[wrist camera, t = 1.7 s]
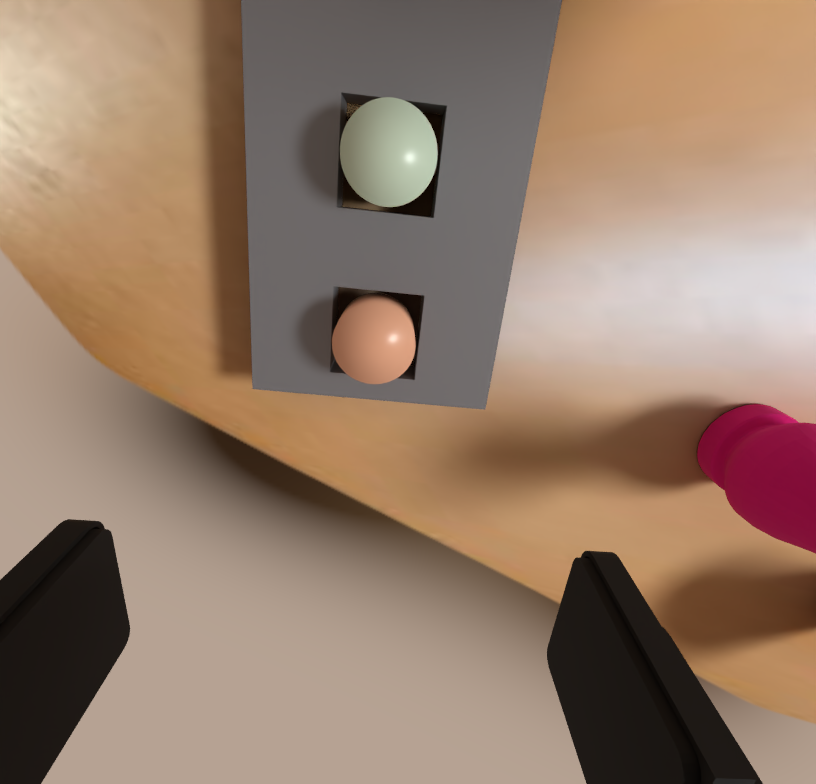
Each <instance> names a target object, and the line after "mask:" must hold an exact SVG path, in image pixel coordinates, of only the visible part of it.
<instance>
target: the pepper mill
mask: <svg viewBox="0 0 816 784" xmlns="http://www.w3.org/2000/svg"><path fill="white" fill-rule="evenodd" d="M697 457H698V463H699V465H700V468H701V469H702V471H703V472H704V473H705V474H706V475H707V476H708V477H709V478H710V479H711V480H713V481H714V482H715V483H716V484H717V485H718V486H719V487H721V488H722V489H724V490H725V493H726V496H727V499H728V501H729V503H730V505H731V506H732V508H733V509H734V510H735V512H736V513H738V514H739V515H740V516H741V517H742V518H744V519H745V520H746V521H747V522H749V523H750V524H751V525H752V526H754V527H756V528H757V529H759V530H761V531H763V532H765V533H767V534H768V535H770V536H772V537H774V538H776V539H779V540H781V541H784V542H787V543H790V544H792V545H795V546H798V547H801V548H803V549H806V550H809V551H811V552H813V553H816V424H811V423H798V421H796V420H795V419H793V418H791V417H790V416H788V415H786V414H784V413H783V412H781V411H779V410H777V409H775V408H773V407H771V406H767V405H760V404H753V405H745V406H741V407H738V408H735V409H733V410H731V411H728V412H726V413H724V414H723V415H721V416H720V417H719V418H718V419H716V420H715V421H714V422H712V423H711V425H710V426H709V427H708V428H707V430H706V431H705V432H704V433H703V436H702V438H701V440H700V442H699V445H698V452H697Z"/></svg>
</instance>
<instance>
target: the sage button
mask: <svg viewBox="0 0 816 784" xmlns="http://www.w3.org/2000/svg"><path fill="white" fill-rule="evenodd" d="M437 155H438V151H437V142H436V137H435V134H434V131H433V129H432V126H431V124H430V123H429V121H428V119H427V118H426V117H425V116H424V114H423V113H422V112H421V111H420V110H419V109H418V108H416V107H415V106H414V105H412V104H411V103H409V102H407V101H405V100H402V99H398V98H393V97H383V98H378V99H374V100H371V101H369V102H367V103H365V104H364V105H362V106H361V107H360V108H358V109H357V110H356V111H355V112H354V113H353V115H352V116H351V117H350V119H349V120H348V122H347V124H346V126H345V128H344V131H343V134H342V138H341V143H340V159H341V165H342V169H343V172H344V174H345V177H346V179H347V181H348V183H349V184H350V185H351V187H352V188H353V189H354V191H355V192H356V193H357V194H358V195H360V196H361V197H362V198H363V199H365V200H366V201H368V202H370V203H372V204H375V205H378V206H383V207H397V206H401V205H404V204H407V203H409V202H411V201H413V200H414V199H416V198H417V197H418V196H419V195H420V194H421V193H422V192H423V191H424V190H425V189H426V188H427V186H428V185H429V183H430V181H431V180H432V177H433V175H434V172H435V169H436V164H437Z"/></svg>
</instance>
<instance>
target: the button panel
mask: <svg viewBox="0 0 816 784" xmlns="http://www.w3.org/2000/svg"><path fill="white" fill-rule="evenodd" d="M561 3H562V0H241V15H242V49H243V83H244V116H245V150H246V183H247V217H248V251H249V284H250V318H251V352H252V385H253V389H259V390H270V391H282V392H293V393H304V394H315V395H327V396H338V397H349V398H361V399H372V400H383V401H394V402H406V403H417V404H428V405H440V406H451V407H462V408H473V409H485V408H486V403H487V398H488V392H489V387H490V382H491V376H492V371H493V366H494V360H495V355H496V350H497V344H498V339H499V334H500V328H501V323H502V318H503V312H504V307H505V302H506V296H507V291H508V286H509V281H510V275H511V270H512V265H513V259H514V254H515V249H516V243H517V238H518V233H519V227H520V222H521V217H522V211H523V206H524V201H525V195H526V190H527V185H528V179H529V174H530V169H531V163H532V158H533V153H534V147H535V142H536V137H537V131H538V126H539V121H540V115H541V110H542V105H543V99H544V94H545V89H546V83H547V78H548V73H549V67H550V62H551V57H552V51H553V46H554V41H555V35H556V30H557V25H558V19H559V14H560V9H561ZM383 97H393V98H398V99H402V100H405V101H407V102H409V103H411V104H412V105H414V106H415V107H416V108H418V109H419V110H420V111H421V112H424V113H432V114H440V115H442V124H441V132H440V141H439V150H438V158H437V167H436V175H435V184H434V193H433V201H432V210H431V217H430V216H421V215H412V214H403V213H394V212H386V211H377V210H368V209H359V208H350V207H342V201H343V179H344V172H343V169H342V165H341V159H340V143H341V138H342V134H343V131H344V128H345V126H346V112H347V103H351V104H359V105H364V104H365V103H367V102H369V101H371V100H374V99H378V98H383ZM339 287H345V288H355V289H365V290H375V291H385V292H394V293H404V294H414V295H422V297H421V305H420V314H419V323H418V331H417V340H416V348H415V357H414V366H409V367H408V369H407V370H406V371H405V372H404V373H403V374H402V375H401V376H399V377H398V378H396V379H394V380H392V381H390V382H387V383H383V384H367V383H363V382H360V381H357V380H355V379H353V378H351V377H350V376H349V375H347V374H346V373H345V372H344V371H343V370H342V369H341V368H340V366H339V365H338V363H337V361H336V359H335V357H334V354H333V349H332V336H333V332H334V329H335V327H336V325H337V312H338V290H339Z"/></svg>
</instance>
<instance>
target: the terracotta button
mask: <svg viewBox="0 0 816 784" xmlns="http://www.w3.org/2000/svg"><path fill="white" fill-rule="evenodd" d="M415 346H416V343H415V333H414V324H413V320H412V317H411V315H410V313H409V311H408V310H407V308H406V307H405V306H404V305H403V304H402V303H401V302H400V301H399V300H397V299H396V298H394V297H392V296H390V295H387V294H382V293H369V294H365V295H362V296H359V297H358V298H356V299H354V300H353V301H352V302H351V303H350V304H348V306H347V307H346V308H345V310H344V311H343V313H342V315H341V317H340V319H339V321H338V323H337V325H336V327H335V329H334V332H333V336H332V349H333V354H334V357H335V359H336V361H337V363H338V365H339V366H340V368H341V369H342V370H343V371H344V372H345V373H346V374H347V375H349V376H350V377H351V378H353V379H355V380H357V381H360V382H363V383H367V384H383V383H387V382H390V381H392V380H394V379H396V378H398V377H399V376H401V375H402V374H403V373H404V372H405V371H406V370H407V369H408V367H409V366H410V364H411V362H412V360H413V357H414V354H415Z"/></svg>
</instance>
